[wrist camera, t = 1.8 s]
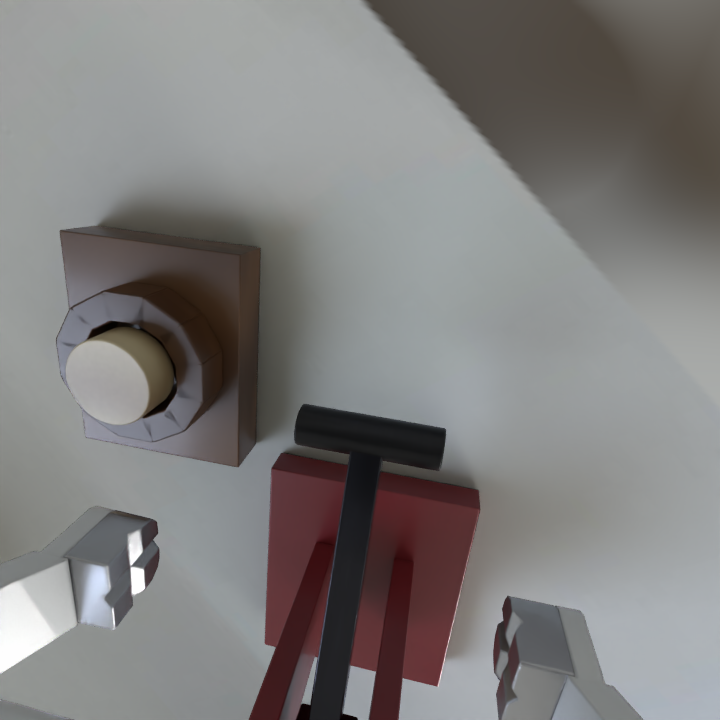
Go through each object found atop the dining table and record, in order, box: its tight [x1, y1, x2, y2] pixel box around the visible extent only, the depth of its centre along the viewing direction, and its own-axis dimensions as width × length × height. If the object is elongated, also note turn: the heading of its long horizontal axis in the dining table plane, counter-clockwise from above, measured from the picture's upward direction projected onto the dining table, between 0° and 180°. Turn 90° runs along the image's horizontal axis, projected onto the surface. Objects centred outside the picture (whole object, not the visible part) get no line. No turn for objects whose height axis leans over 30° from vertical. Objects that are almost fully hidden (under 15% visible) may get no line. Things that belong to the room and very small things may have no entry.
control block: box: [56, 226, 260, 467], centre depth 22 cm, size 10×8×4 cm
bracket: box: [249, 453, 480, 720], centre depth 21 cm, size 12×10×12 cm
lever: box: [294, 404, 446, 720], centre depth 17 cm, size 14×5×2 cm, turn 174°
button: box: [65, 327, 174, 425], centre depth 19 cm, size 4×4×2 cm
